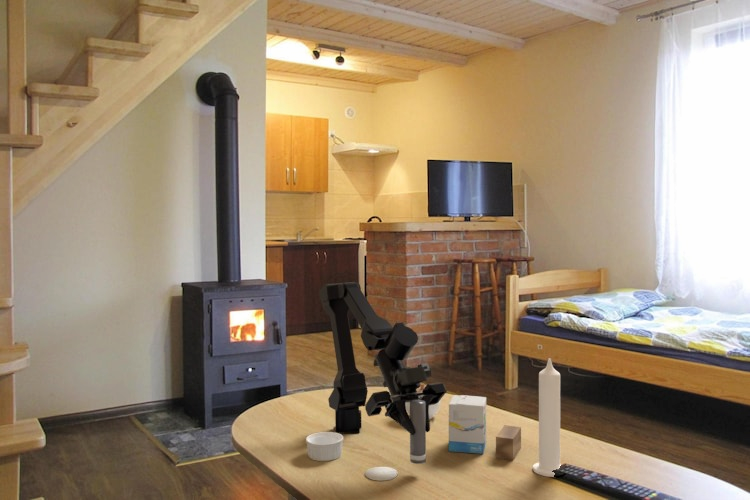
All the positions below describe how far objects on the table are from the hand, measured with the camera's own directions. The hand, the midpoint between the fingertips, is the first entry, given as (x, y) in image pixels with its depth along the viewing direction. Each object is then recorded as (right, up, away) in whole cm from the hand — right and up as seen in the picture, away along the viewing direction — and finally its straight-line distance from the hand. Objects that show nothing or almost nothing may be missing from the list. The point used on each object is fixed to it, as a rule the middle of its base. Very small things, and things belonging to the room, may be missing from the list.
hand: (421, 432), depth 136 cm
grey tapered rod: (-1, -7, +2) cm, 7 cm away
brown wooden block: (+22, -9, +14) cm, 27 cm away
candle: (+28, -9, +2) cm, 30 cm away
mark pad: (-9, -10, +1) cm, 13 cm away
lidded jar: (+3, -8, +42) cm, 43 cm away
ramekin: (-22, -9, +13) cm, 27 cm away
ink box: (+13, -9, +18) cm, 24 cm away
